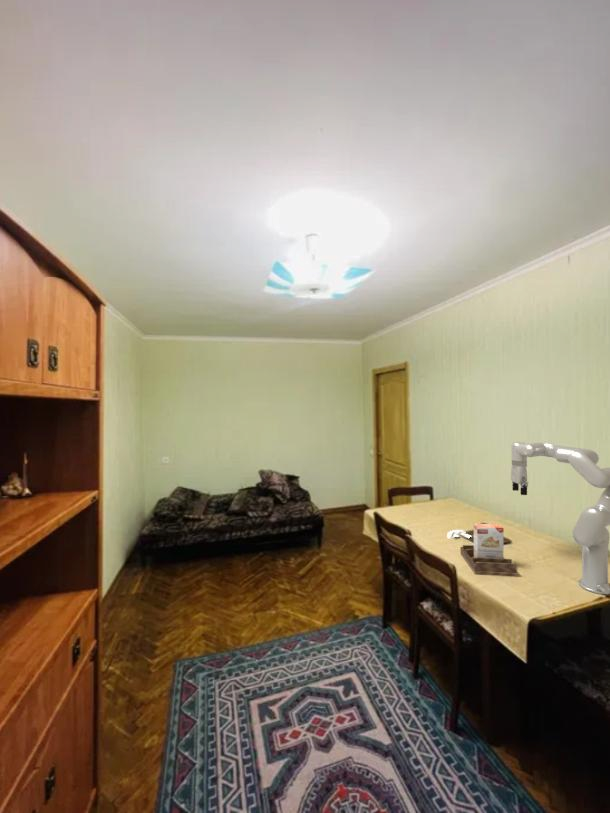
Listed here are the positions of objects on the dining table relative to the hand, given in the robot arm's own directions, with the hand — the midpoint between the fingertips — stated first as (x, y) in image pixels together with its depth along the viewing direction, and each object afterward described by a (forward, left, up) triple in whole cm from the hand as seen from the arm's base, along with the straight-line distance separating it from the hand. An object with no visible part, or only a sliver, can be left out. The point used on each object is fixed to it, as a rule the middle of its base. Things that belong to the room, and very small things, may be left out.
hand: (519, 492), depth 196 cm
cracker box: (-11, +22, -37) cm, 44 cm away
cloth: (+30, +25, -39) cm, 55 cm away
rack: (-11, +22, -38) cm, 46 cm away
